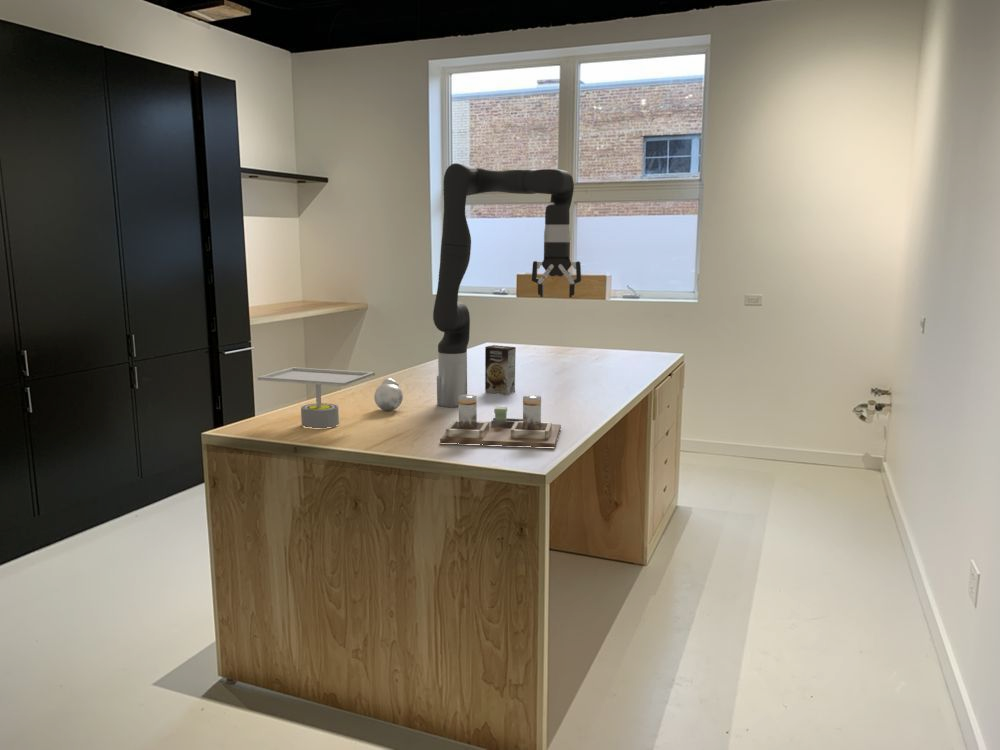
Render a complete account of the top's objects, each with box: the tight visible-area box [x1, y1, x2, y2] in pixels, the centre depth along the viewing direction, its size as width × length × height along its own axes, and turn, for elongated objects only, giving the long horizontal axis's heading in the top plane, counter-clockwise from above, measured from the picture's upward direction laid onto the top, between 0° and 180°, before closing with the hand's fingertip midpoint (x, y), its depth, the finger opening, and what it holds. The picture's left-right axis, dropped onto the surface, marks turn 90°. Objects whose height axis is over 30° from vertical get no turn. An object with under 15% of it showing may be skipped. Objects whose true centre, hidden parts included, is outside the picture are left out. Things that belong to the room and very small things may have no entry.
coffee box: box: [484, 344, 517, 395], centre depth 260 cm, size 9×6×16 cm
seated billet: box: [458, 394, 478, 430], centre depth 200 cm, size 5×5×10 cm
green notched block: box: [493, 406, 508, 421], centre depth 209 cm, size 3×3×5 cm
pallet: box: [439, 417, 562, 448], centre depth 203 cm, size 30×20×4 cm, turn 81°
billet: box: [522, 394, 542, 430], centre depth 200 cm, size 5×5×10 cm
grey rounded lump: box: [373, 377, 404, 412], centre depth 234 cm, size 9×9×10 cm
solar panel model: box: [257, 366, 376, 428], centre depth 214 cm, size 28×17×15 cm, turn 71°
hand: (556, 297), depth 219 cm, fingers open, 8 cm apart
